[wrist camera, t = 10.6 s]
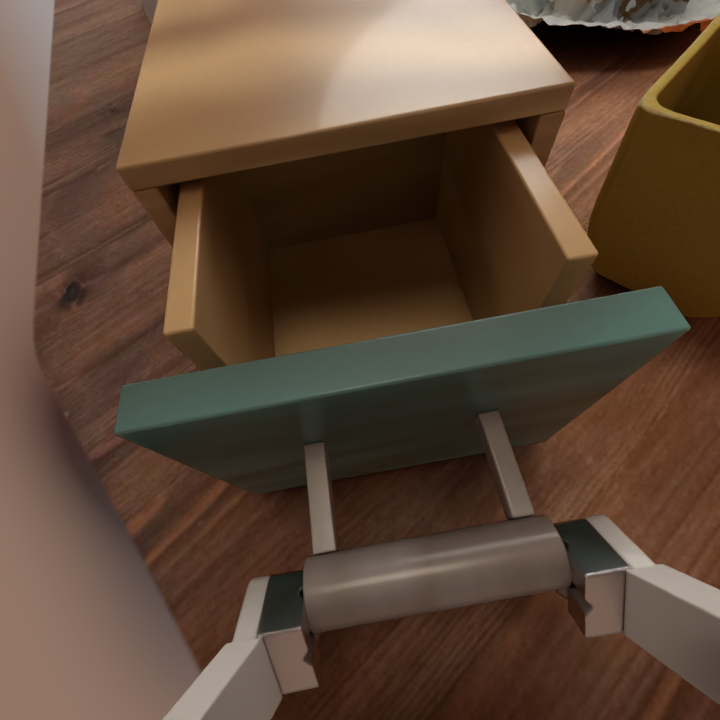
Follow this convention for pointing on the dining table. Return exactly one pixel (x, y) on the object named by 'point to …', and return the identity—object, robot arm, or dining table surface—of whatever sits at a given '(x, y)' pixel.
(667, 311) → the drawer
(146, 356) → the dining table surface
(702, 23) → the food on plate
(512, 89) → the cabinet
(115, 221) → the dining table surface
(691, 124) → the flower pot
